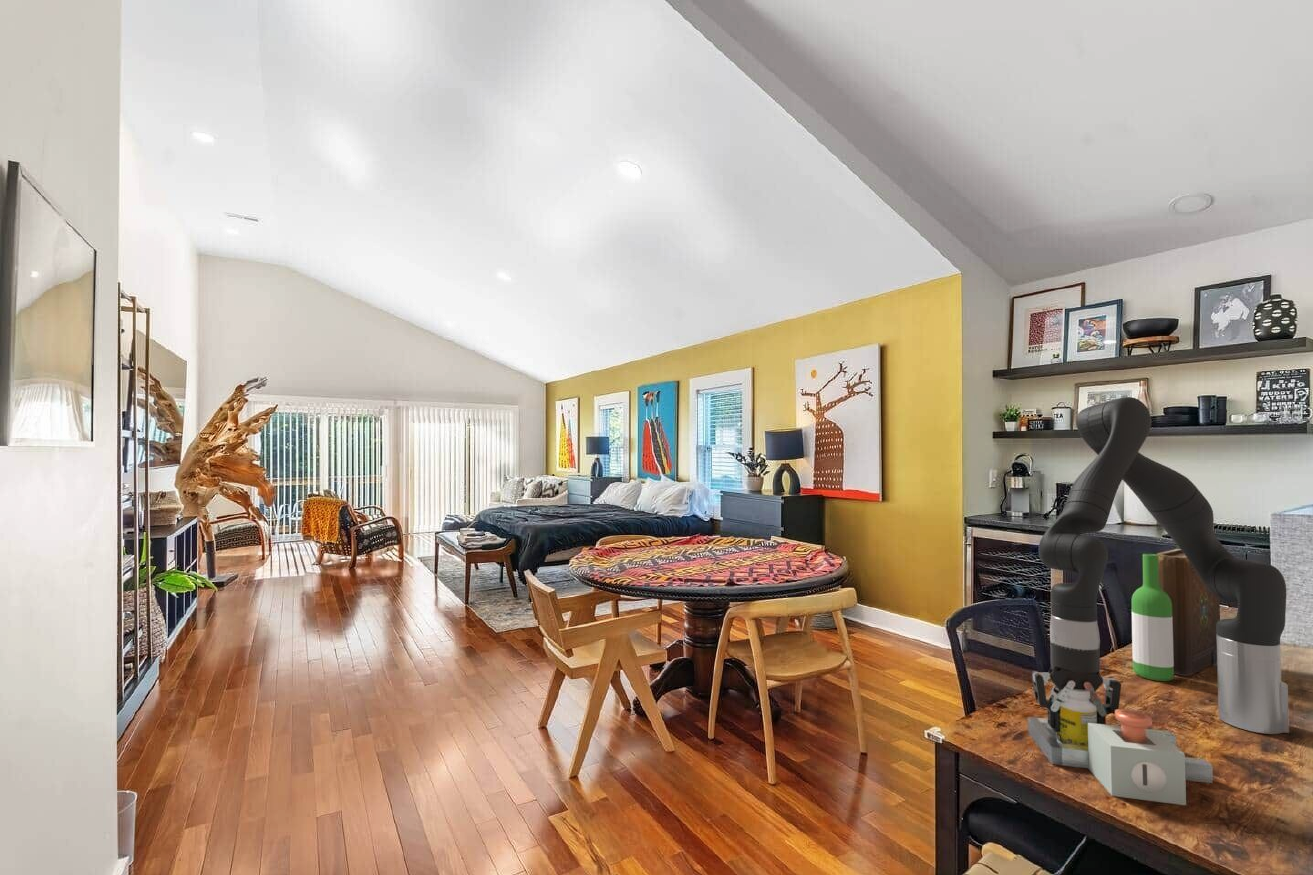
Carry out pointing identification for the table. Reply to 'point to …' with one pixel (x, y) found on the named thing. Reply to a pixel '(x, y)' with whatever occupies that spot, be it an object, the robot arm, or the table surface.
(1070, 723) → the pill bottle
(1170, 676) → the wine bottle
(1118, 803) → the table surface
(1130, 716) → the plunger
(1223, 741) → the table surface
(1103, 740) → the plunger housing block
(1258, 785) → the table surface
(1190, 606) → the decorative book
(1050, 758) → the rail
